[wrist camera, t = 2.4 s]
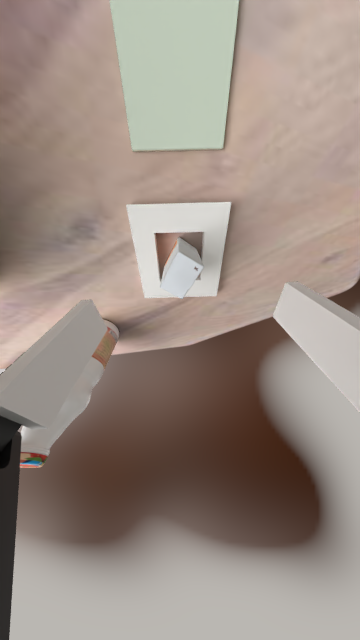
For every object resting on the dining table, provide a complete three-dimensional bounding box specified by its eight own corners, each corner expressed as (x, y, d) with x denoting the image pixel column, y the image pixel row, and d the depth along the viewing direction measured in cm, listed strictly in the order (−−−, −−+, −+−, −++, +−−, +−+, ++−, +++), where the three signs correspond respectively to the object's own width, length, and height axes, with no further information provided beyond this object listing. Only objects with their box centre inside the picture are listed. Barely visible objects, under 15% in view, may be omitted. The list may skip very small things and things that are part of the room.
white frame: (146, 294, 35) (144, 298, 33) (129, 205, 24) (126, 204, 23) (214, 292, 35) (216, 296, 33) (227, 202, 24) (231, 201, 23)
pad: (133, 151, 20) (132, 150, 20) (99, -73, 12) (96, -84, 12) (221, 149, 20) (223, 147, 20) (245, -75, 13) (248, -86, 12)
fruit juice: (126, 330, 42) (70, 464, 20) (110, 345, 46) (48, 471, 24) (96, 311, 37) (-19, 456, 15) (80, 330, 41) (-29, 467, 19)
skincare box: (178, 236, 27) (179, 249, 18) (196, 248, 29) (206, 266, 19) (164, 264, 30) (158, 288, 21) (181, 273, 32) (183, 300, 22)
